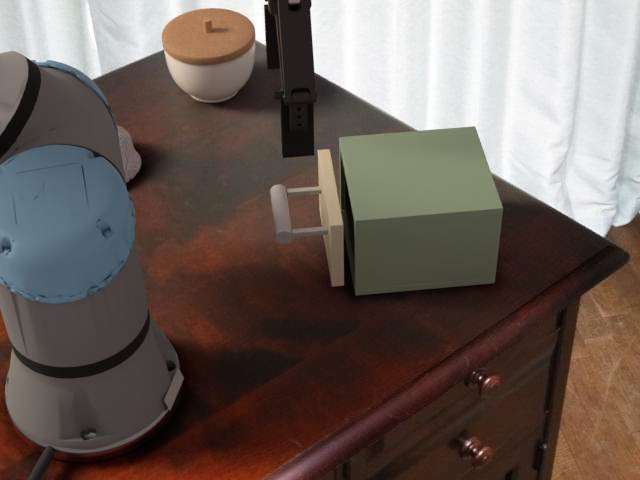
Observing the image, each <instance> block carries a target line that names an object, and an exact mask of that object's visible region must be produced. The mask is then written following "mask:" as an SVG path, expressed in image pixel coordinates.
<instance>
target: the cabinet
mask: <svg viewBox="0 0 640 480" xmlns="http://www.w3.org/2000/svg"><path fill="white" fill-rule="evenodd" d="M338 149H339V151H338V153H339V157H338V158H339V161H338V163H339V203H340V208H341V214H342V220H343V229H344V241H345V246H346V251H347V257H348V263H349V268H350V273H351V278H352V285H353V291H354V295H355V296H366V295H376V294H391V293H401V292H410V291H412V292H413V291H423V290H433V289H444V288H445V289H446V288H455V287H456V288H457V287H468V286H469V287H470V286H478V285H490V284H491V285H492V284H495V283H496V277H497V276H496V275H497V266H498V258H499V249H500V240H501V233H502V232H501V231H502V222H503V214H504V206H503V204H502V200H501V198H500V195H499V192H498V188H497V186H496V183H495V180H494V177H493V174H492V171H491V168H490V166H489V163H488V159H487V157H486V153H485V151H484V148H483V145H482V142H481V138H480V137H479V133H478V130H477V127H476V126H475V125H474V126H473V125H472V126H461V127H448V128H436V129H425V130H423V129H422V130H411V131H410V130H409V131H399V132H387V133H385V132H384V133H375V134H362V135H349V136H339V137H338ZM344 171H345V176H346V181H347V187H348V192H349V197H350V202H351V207H352V213H353V218H354V259H353V254H352V248H351V243H350V237H349V232H348V226H347V221H346V216H345V210H344Z"/></svg>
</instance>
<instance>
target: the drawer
mask: <svg viewBox="0 0 640 480" xmlns="http://www.w3.org/2000/svg"><path fill="white" fill-rule="evenodd" d="M317 166H318V167H317V168H318V169H317V173H318V175H317V176H318V186H307V187H306V186H305V187H295V188H294V187H293V188H287V187H286V186H284V185H283V184H278V183H277V184H274V185H273V186H271V188H270V190H269V193H270V202H271V211H272V220H273V221H272V222H273V229H274V239H275V241H276V242H277V243H278V244H283V245H286V244H289V243H290V242H291V241H292V240H293V238H305V237H306V238H307V237H316V236H323V241H324V246H325V247H324V248H325V252H326V253H325V254H326V259H327V265H328V266H327V267H328V271H329V279H330V284H331V288H332V287H333V288H334V287H344V286H345V245H344V244H345V243H344V241H345V235H344V229H343V220H342V214H341V208H340V196H339V192H338V187H337V182H336V176H335V169H334V165H333V159H332V153H331V149H330V148H327V149H326V148H324V149H317ZM317 195H318V204H319V205H318V207H319V215H320V221H321V226H314V227H313V226H312V227H304V228H303V227H302V228H292V223H291V222H292V221H291V216H290V214H291V213H290V208H289V207H290V205H289V199H288V198H291V197H303V196H317ZM344 210H345V216H346V221H347V226H348V232H349V237H350V243H351V248H352V254H353V259H354V218H353V213H352V207H351V202H350V197H349V192H348V187H347V181H346V176H345V171H344Z"/></svg>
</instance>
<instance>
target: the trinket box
mask: <svg viewBox="0 0 640 480" xmlns="http://www.w3.org/2000/svg"><path fill="white" fill-rule="evenodd" d="M162 29H163V30H162V31H161V36H160V37H161V43H162V48H163V52H164V57H165V62H166V66H167V70H168V71H169V73H170V76H171V78H172V80H173V81H174V83H175V84H176V85H177V86H178V87H179V88H180V89H181V90H182V91H183V92H185V93H186V94H188V95H189V96H190V97H191V98H192V99H194V100H196V101H198V102H202V103H208V104H210V103H211V104H214V103H215V104H217V103H222V102H225V101H228V100H230V99H232V98H233V97H235V96H236V95H237V94H238V92H239V91H240V90H241V89H242V88H243V87H244V86H245V85H246V84H247V82H248V80H249V79H250V77H251V75H252V72H253V71H254V70H253V69H254V65H255V61H256V60H255V59H256V28H255V25H254V24H253V22H252V20H250V18H249V17H247V16H246V15H244V14H242V13H240V12H238V11H236V10H232V9H227V8H220V7H209V8H199V9H193V10H190V11H186V12H183V13H181V14H179V15H177V16H176V17H174V18H172V19H171V20H170V21H169V22H168V23H166V25H165V26H164V27H163V28H162Z"/></svg>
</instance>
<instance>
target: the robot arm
mask: <svg viewBox="0 0 640 480" xmlns="http://www.w3.org/2000/svg"><path fill="white" fill-rule="evenodd" d="M264 2H266V3H267V4H263V15H264V34H265V35H264V36H265V55H266V56H265V58H266V69H267V70H268V71H269V70H280V71H279V72H280V82H281V88H280V89H279V90H278V91H273V93H272V95H273V100H274V101H279V111H280V112H279V113H280V114H279V115H280V137H281V140H280V142H281V155H282V159H289V158H302V157H310V156H311V157H312V156H315V110H314V109H315V108H314V107H315V106H314V105H315V104H316V103H317V101H318V92H317V90H316V89H317V88H316V75H315V59H314V58H315V57H314V44H313V43H314V42H313V31H312V30H313V29H312V16H311V8H312V0H264ZM117 126H118V125H117V121H116V118H115V115H114V112H113V111H112V109H111V107H110V106H109V103H108V100H107V98H106V97H105V94H104V93H103V91H102V90H101V89H100V87H99V86H98V85H97V84H96V82H95V81H93V79H91V78H90V77H89V76H88V75H87V74H85V73H84V72H83V71H81V70H79V69H77V68H76V67H74V66H71V65H69V64H67V63H63V62H60V61H56V60H51V59H46V61H43V62H42V61H37V60H35V59H32V60H31V59H30V58H28V57H26V56H25V55H24V54H22V53H20V52H18V51H16V50H10V51H4V52H0V312H1V315H2V316H1V317H2V320H3V322H4V326H5V330H6V333H7V336H8V339H9V342H10V346H11V353H10V359H9V360H10V361H9V368H8V372H7V374H6V375H7V376H6V380H5V385H4V386H5V387H4V402H5V406H6V410H7V413H8V417H9V419H10V422H11V425H12V427H13V429H14V431H15V432H16V434H17V435H18V437H19V438H20V439H21V440H22V441H23V442H24V443H25V444H26V445H27V446H29V447H30V448H31V449H33V450H34V451H36V452H38V453H40V454H41V455H40V457H39V458H38V460H37V462H36V463H35V465H34V467H33V468H32V471H31V472H30V473H29V476H28V477H27V478H26V480H41V479H42V478H43V476H44V474H45V472H46V471H47V469H48V467H49V465H50V463H51V462H52V460H53V459H56V460H60V461H64V462H65V461H66V462H74V463H75V462H76V463H85V462H87V463H89V462H98V461H103V460H108V459H113V458H116V457H119V456H122V455H125V454H127V453H130V452H131V451H134V450H136V449H137V448H139V447H141V446H143V445H144V444H146V443H148V442H149V441H150V440H152V439H153V438H154V437H155V436H157V435H158V434H159V433H160V432H161V431H162V430H163V429H164V428H165V427H166V426H167V424H168V423H169V422H170V420H171V419H172V417H173V416H174V414H175V412H176V411H177V409H178V406H179V405H180V402H181V398H182V392H183V381H184V379H185V377H184V375H183V373H182V370H181V364H180V360H179V356H178V354H177V351H176V349H175V348H174V346H173V344H172V343H171V341H170V340H169V338H167V336H166V334H165V333H164V332H163V330H162V329H161V328H160V326H159V324H157V322H156V321H155V319H154V318H153V316H152V315H151V314H150V308H149V302H148V296H147V289H146V285H145V278H144V273H143V267H142V260H141V255H140V249H139V243H138V238H137V233H136V227H137V225H136V223H137V220H136V212H135V207H134V202H133V200H132V196H131V194H130V192H129V191H128V185H127V182H126V179H125V174H124V168H123V162H122V156H121V150H120V144H119V137H118V128H117Z"/></svg>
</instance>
